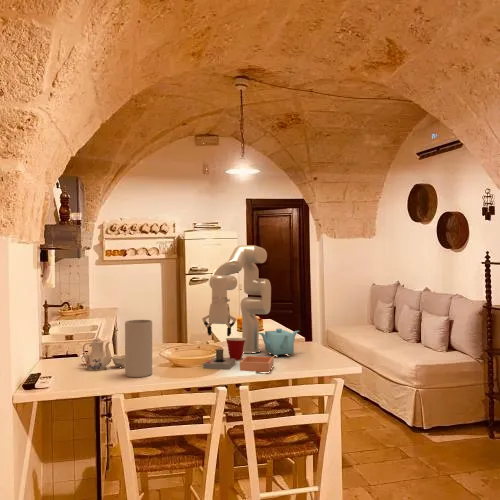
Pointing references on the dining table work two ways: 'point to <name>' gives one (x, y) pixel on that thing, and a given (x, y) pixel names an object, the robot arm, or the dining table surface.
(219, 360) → the battery cell
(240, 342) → the plastic cup
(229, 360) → the block
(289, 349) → the teakettle
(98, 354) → the chinaware
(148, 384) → the dining table surface
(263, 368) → the bin
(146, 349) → the cylinder vase
